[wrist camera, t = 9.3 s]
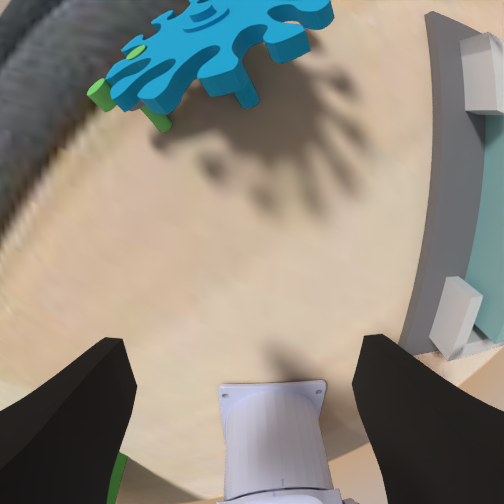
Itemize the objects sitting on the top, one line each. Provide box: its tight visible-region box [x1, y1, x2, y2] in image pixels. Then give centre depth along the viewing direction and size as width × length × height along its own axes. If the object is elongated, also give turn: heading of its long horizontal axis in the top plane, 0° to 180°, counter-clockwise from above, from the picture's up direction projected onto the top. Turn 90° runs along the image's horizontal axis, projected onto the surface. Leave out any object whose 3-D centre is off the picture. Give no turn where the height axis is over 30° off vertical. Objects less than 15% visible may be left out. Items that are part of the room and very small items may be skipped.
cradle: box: [398, 11, 504, 361], centre depth 14 cm, size 24×11×4 cm, turn 0°
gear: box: [87, 0, 334, 132], centre depth 12 cm, size 11×6×10 cm
